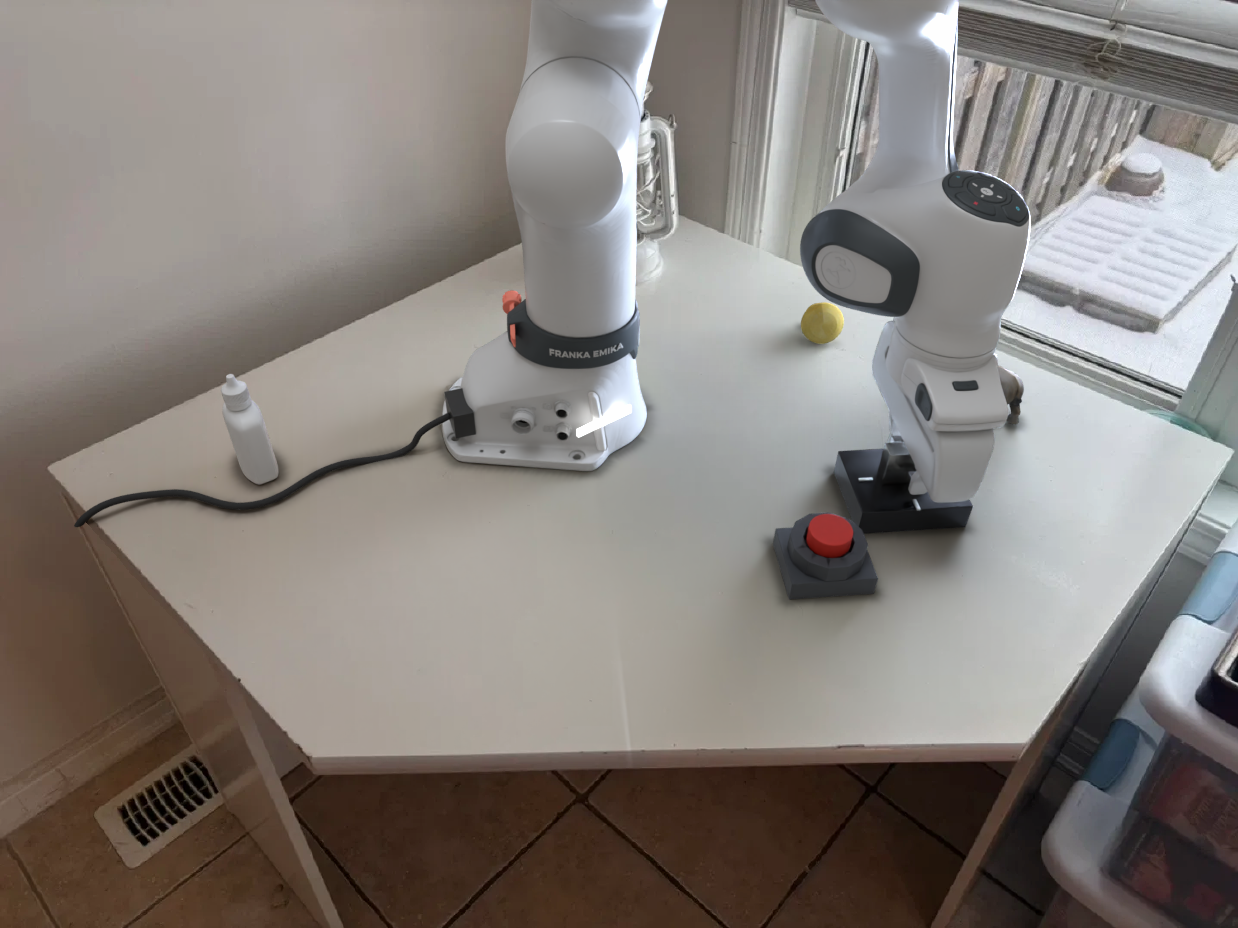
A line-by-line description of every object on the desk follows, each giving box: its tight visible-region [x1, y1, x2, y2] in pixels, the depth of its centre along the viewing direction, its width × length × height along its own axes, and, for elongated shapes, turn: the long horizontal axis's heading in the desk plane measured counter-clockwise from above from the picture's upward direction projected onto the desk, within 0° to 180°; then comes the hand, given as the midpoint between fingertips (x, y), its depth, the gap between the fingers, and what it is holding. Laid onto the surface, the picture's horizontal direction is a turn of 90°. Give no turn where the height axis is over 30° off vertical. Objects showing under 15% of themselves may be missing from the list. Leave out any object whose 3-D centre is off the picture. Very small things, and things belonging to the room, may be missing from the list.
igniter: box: [772, 512, 879, 600], centre depth 91 cm, size 8×7×4 cm
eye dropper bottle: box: [220, 373, 279, 485], centre depth 97 cm, size 4×6×12 cm
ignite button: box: [806, 513, 853, 558], centre depth 89 cm, size 4×4×2 cm
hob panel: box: [833, 448, 974, 535], centre depth 98 cm, size 11×9×3 cm
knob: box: [800, 301, 845, 345], centre depth 118 cm, size 5×5×5 cm
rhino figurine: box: [998, 364, 1025, 426], centre depth 110 cm, size 4×14×6 cm, turn 33°
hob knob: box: [877, 442, 917, 485], centre depth 95 cm, size 5×2×4 cm, turn 95°
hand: (906, 469), depth 96 cm, fingers open, 4 cm apart
